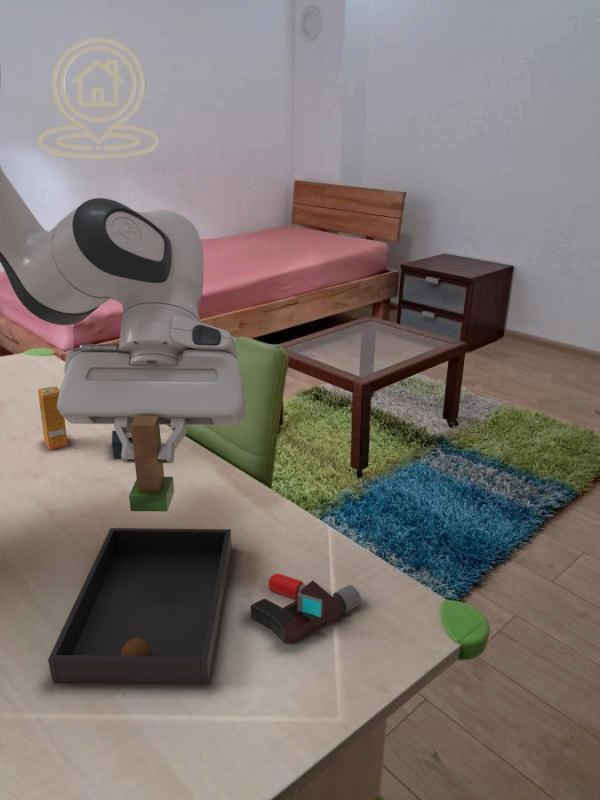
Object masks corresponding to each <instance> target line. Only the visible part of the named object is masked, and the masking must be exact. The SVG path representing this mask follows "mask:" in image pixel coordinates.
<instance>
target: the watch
mask: <svg viewBox="0 0 600 800" xmlns="http://www.w3.org/2000/svg"><path fill="white" fill-rule="evenodd" d="M126 434H127V436H128V439H129V441H130V443H133V442H132V433H127V432H126ZM111 447H112V455H113V460H116V459H117V460H118V459H121V453H122V443H121V441H120V439H119V437H118V435H117V433H116V431H115V430H112V431H111Z"/></svg>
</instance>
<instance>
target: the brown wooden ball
mask: <svg viewBox="0 0 600 800" xmlns="http://www.w3.org/2000/svg"><path fill="white" fill-rule="evenodd" d="M151 655H152V650H151V646H150V645H149V643H148V642H147V641H146V640H144V639H142V638H133V639H131V640H129V641H128V642H126V643H125V645H124V646H123V648H122V650H121V656H151Z"/></svg>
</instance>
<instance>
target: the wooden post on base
mask: <svg viewBox="0 0 600 800" xmlns="http://www.w3.org/2000/svg"><path fill="white" fill-rule="evenodd" d="M160 427H161V425H159V416H141V415H136V417H135V419H134V420H133V422H132V424H131V433H132V442H133V451H134V460H135V463H134V468H135V476H136V477H135V478H136V479H135V481H134V484H133V486H132V488H131V489H130V492H129V495H128V499H129V500H128V501H129V508H130V512H168V511H169V509H170V506H171V502H172V500H173V497H174V494H175V482H174V476H165V472H164V463H159V461H158V460H157V454H158V452H159V451H158V444H162V437H161V428H160Z"/></svg>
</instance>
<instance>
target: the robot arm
mask: <svg viewBox="0 0 600 800" xmlns="http://www.w3.org/2000/svg"><path fill="white" fill-rule="evenodd" d="M1 87H2V66H1V65H0V89H1ZM202 244H203V243H202V240H201V236H200V234H199V231H198V229H197V228H196V226H195V224H193V222H192V221H190V220H189V219H188V218H187V217H185V216H183V215H182V214H180V213H177V212H175V211H172V210H169V209H154V210H151V211H147V212H146V211H145V212H144V211H138V210H134V209H132V208H130V207H129V206H127V205H125V204H124V203H121V202H119V201H117V200H113V199H110V198H104V197H97V198H96V197H95V198H91V199H88V200H86V201H84V202H83V203H81V204H80V205H78V206H76V207H75V209H73V210H72V211H70V212H69V213H68V214H67V215H66V216H64V217H63V218H62V219H61V220H60V221H58V223H57V224H56V225H55V226H54V227H53V228H52V229H50V230H49V231H48V230H47V229H45V228H44V227H43V226H42V224H40V222H39V220H38V219H37V218H36V216H35V214H34V213H33V211H32V210H31V209H30V208H29V207H28V205H27V203H26V202H25V201H24V199H23V198H22V197H21V195H20V193H19V192H18V190H17V189H16V187H15V186H14V185H13V183H12V182H11V180H10V179H9V178H8V176H7V175H6V173H5V172H4V170H3V168H2V166H1V165H0V264H1V266H2V268H3V270H4V272H5V274H6V277H7V278H8V281H9V283H10V285H11V288H12V290H13V292H14V294H15V295H16V297H17V299H18V300H19V302H20V303H21V304H22V306H24V308H25V309H26V310H27V311H28V312H30V313H31V314H32V315H34V316H35V317H37V318H38V319H40V320H41V321H44V322H46V323H50V324H53V325H57V326H71V325H72V326H73V325H75V324H77V323H80V322H82V321H84V320H86V319H87V318H88V317H89V316H90V315H91V314H92V313H94V312H95V311H96V310H97V309H99V307H100V306H101V305H104V304H105V303H107V302H108V301H110V300H114V301H116V302H118V303H119V304H121V306H122V316H121V318H122V319H121V326H120V333H119V342H118V343H91V342H90V343H89V342H88V343H87V342H85V343H81V344H80V345H79V346H78V347H74V348H73V349H71V350H70V351H69V352H67V355H66V357H65V362H64V368H63V370H64V371H63V372H64V375H63V378H62V382H61V386H60V388H59V390H60V392H59V397H58V401H57V408H58V410H59V412H60V413H61V415H62V416H63V417H64V419H65V421H67V422H68V423H70V424H73V425H113V429H114V431H116V433H117V435H118V437H119V439H120V441H121V443H122V453H121V458H120V459H121V461H122V463H124V464H135V460H134V451H133V443H130V441H129V439H128V436H127V434H126V432H127V433H131V424H132V422H133V420H134V419H135V417H136V415H141V416H159V426H170V429H171V430H172V433H171V435H170V436H169V437H168V439H167V441H166V442H165V443H161V444H158V451H159V452H158V454H157V460H158V461H159V463H163V464H174V461H175V451H176V449H177V448H178V446H179V445H180V443H181V442H182V440H184V438H185V437H186V435H187V429H188V426H233V427H234V426H239V425H240V424H241V423H242V422H243V421H244V420H245V418H246V396H245V389H244V388H245V387H244V382H243V377H242V376H243V375H242V372H241V368H240V364H239V362H238V360H237V357H238V356H237V355H238V353H237V346H236V343H235V340H234V337H233V336H232V334H231V332H229V330H226V329H223V328H220V327H216V326H214V325H213V326H212V325H209V324H206V323H203V322H201V318H200V314H199V304H200V301H201V299H202V296H203V290H204V289H203V288H204V275H205V273H204V271H205V263H204V262H205V261H204V250H203V245H202Z"/></svg>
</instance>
